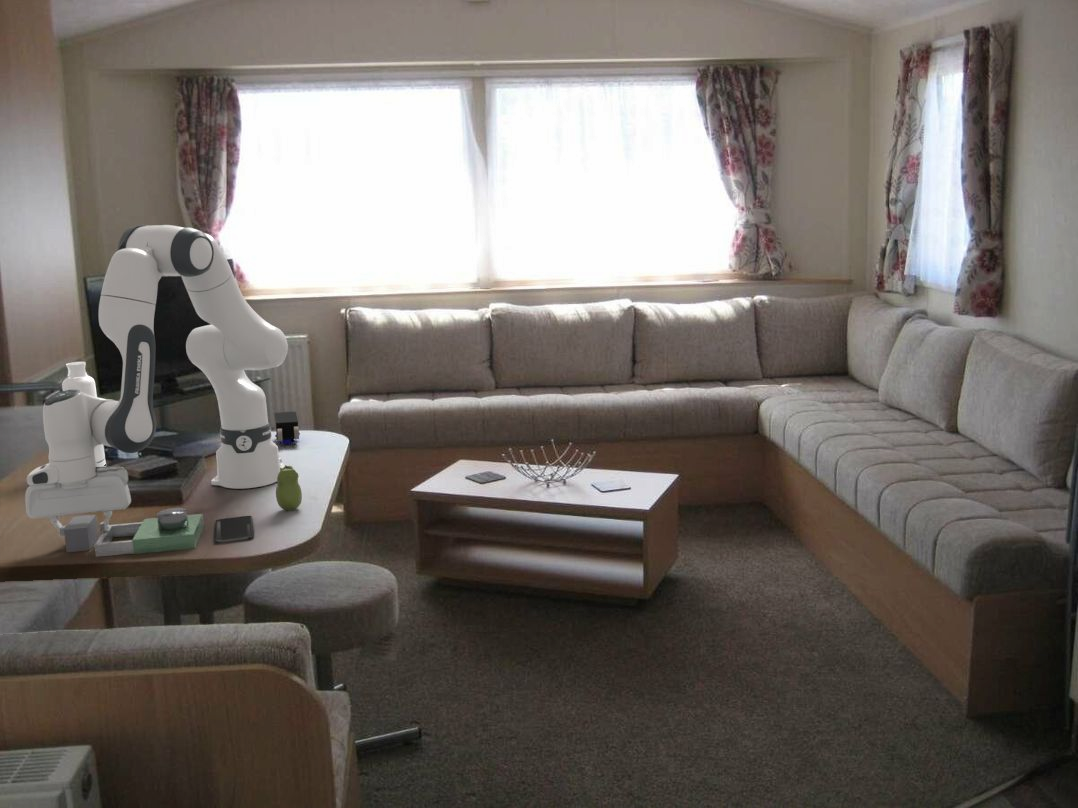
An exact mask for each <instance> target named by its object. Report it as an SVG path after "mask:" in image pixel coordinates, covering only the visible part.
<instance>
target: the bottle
mask: <svg viewBox="0 0 1078 808" xmlns="http://www.w3.org/2000/svg"><path fill="white" fill-rule="evenodd" d="M65 366H66V368H67V377H66V378H65V379H64V380H63V381H62V383H61V388H62V391H66V390H72V389H75V390H80V391H81V392H83V393H85V394H88V395H91V396H94V397H98V394H97V388H96V386H97V385H96V381H95V379H94V378H93V377H92V376H90V375H88V372H87V371H86V361H73V362H68V363H65ZM94 452H95V458H96V465H97V467H103V466H104V465H105V464H106V465H107V462H106V454H105V445H102V444H101V445H97V446H95V448H94Z"/></svg>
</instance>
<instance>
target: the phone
mask: <svg viewBox="0 0 1078 808" xmlns="http://www.w3.org/2000/svg"><path fill="white" fill-rule="evenodd" d="M214 526H215V527H214V528H215V529H214V530H215V531H214V542H215V544H217V545H221V544H229V543H237V542H245V541H252V540H253V539H254V538H255V530H254V519H253V516H252V515H243V516H234V517H225V518H218V519H216V520H215V525H214Z"/></svg>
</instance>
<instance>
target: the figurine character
mask: <svg viewBox="0 0 1078 808" xmlns="http://www.w3.org/2000/svg"><path fill="white" fill-rule="evenodd" d="M273 415H274V420H275V431H276V434H274V437H275V438H276V441H277V442H281V446H282V447H286V444H288V445H289V444H291V443H292V446H296V445H297V443H296V441H295V440H300V435H301V433H300V429H299V421H298V416H297V411H283V412H282V411H281V412H274V414H273Z"/></svg>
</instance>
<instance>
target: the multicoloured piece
mask: <svg viewBox="0 0 1078 808" xmlns="http://www.w3.org/2000/svg"><path fill="white" fill-rule="evenodd" d="M204 528H205V526H204V515H203V513H197V514H196V513H195V514H188V510H187V509H186V508H184V507H171V508H166V509H162V510H160V511H158V512H157V513H156V517H150V518H144V519H143V521H137V522H129V523H127V522H126V523H118V524H109V531H105V532H101V534H100V535H99V537H98V539H97V540H96V542H95V543H94V545H93V547H94V553H95V557H96V558H98V557H109V556H119V555H129V554H131V555H132V554H134V555H138V554H139V555H140V554H147V553H148V554H149V553H159V552H170V551H181V550H190V549H196V548H197V544H198V542H199V540H200V537H201V535H202V533H203V531H204ZM119 537H121V538H122V537H133V538H132V540H131V539H130V540H129V539H127V540H119V541H112V540H113V539H114V538H119Z"/></svg>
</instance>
